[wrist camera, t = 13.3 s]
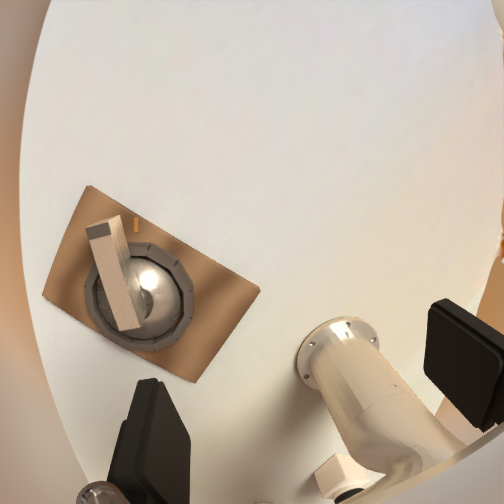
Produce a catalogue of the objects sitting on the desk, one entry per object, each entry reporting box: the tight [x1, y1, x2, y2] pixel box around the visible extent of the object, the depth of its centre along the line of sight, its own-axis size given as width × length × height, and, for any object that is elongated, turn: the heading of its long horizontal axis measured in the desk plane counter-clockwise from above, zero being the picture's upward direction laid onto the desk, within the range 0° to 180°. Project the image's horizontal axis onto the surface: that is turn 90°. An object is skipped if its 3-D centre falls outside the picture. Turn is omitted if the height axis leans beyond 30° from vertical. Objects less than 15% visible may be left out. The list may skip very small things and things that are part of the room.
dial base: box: [42, 186, 260, 383], centre depth 35 cm, size 24×16×4 cm
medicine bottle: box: [314, 454, 370, 504], centre depth 45 cm, size 7×7×12 cm
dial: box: [85, 215, 181, 339], centre depth 32 cm, size 15×10×7 cm, turn 11°
